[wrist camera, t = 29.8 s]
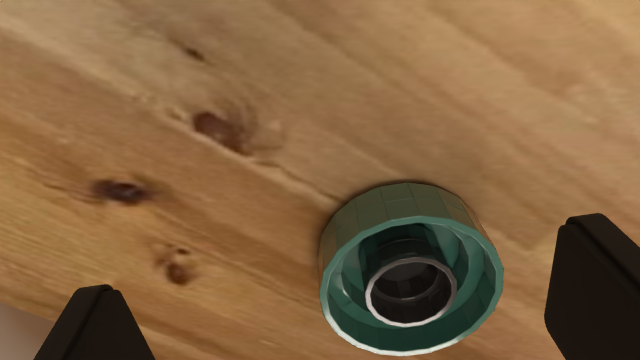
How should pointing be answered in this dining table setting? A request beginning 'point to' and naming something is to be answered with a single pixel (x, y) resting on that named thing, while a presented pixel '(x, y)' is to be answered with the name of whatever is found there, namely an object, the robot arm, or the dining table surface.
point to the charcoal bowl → (406, 276)
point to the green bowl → (459, 247)
